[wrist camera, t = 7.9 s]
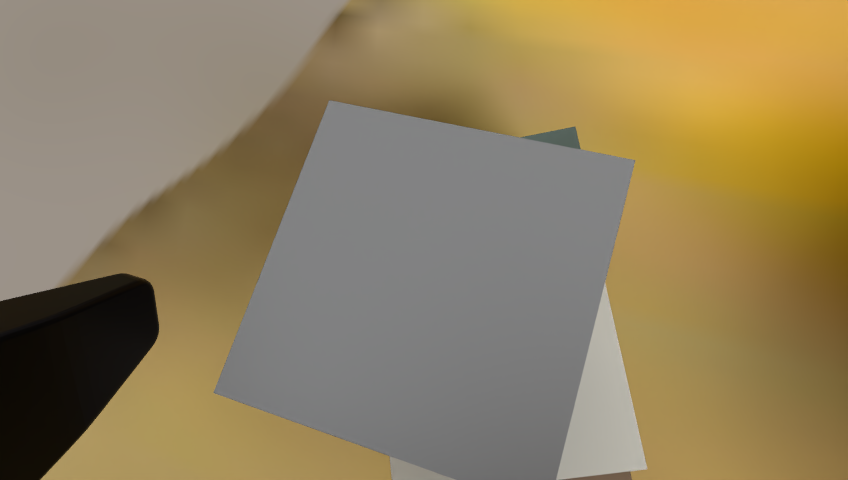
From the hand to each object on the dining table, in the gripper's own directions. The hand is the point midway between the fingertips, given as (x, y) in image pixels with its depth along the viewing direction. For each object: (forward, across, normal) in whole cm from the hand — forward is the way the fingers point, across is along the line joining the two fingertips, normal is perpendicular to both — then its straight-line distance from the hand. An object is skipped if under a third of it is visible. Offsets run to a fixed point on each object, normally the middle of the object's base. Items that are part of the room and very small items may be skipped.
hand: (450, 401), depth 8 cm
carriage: (+6, 0, +5) cm, 7 cm away
